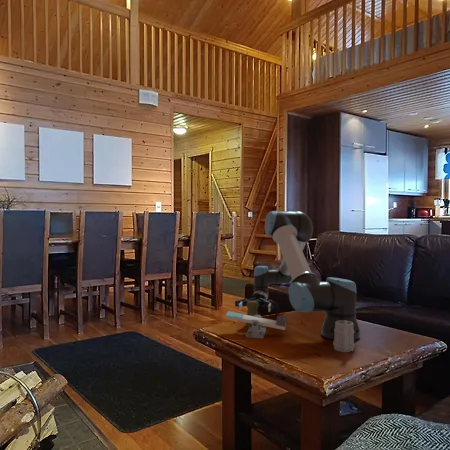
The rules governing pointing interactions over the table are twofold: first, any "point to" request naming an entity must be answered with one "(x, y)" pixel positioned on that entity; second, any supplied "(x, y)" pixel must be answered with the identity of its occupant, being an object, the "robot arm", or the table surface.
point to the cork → (252, 310)
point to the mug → (344, 336)
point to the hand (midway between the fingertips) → (254, 308)
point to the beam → (261, 321)
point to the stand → (255, 330)
